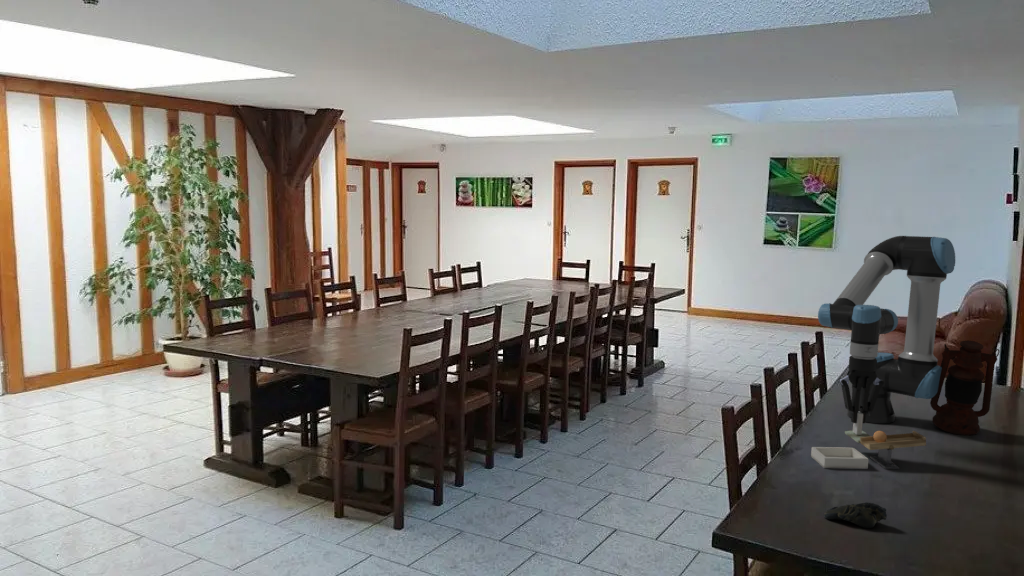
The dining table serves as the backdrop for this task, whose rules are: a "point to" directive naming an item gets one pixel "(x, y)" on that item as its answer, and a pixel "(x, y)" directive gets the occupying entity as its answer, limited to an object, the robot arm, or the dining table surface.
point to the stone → (858, 514)
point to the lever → (889, 440)
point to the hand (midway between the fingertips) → (857, 433)
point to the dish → (839, 457)
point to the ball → (880, 436)
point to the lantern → (964, 388)
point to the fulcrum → (884, 459)
